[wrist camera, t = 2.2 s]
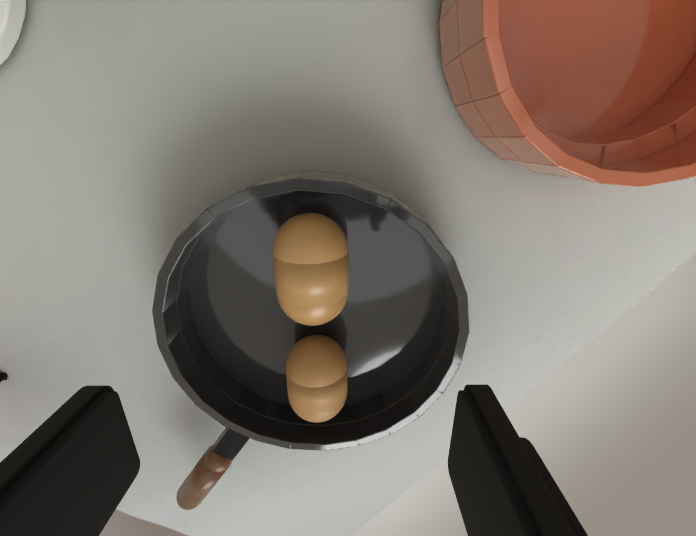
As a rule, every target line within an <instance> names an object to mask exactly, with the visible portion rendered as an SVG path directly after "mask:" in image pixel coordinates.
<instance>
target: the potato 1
mask: <svg viewBox="0 0 696 536" xmlns="http://www.w3.org/2000/svg"><path fill="white" fill-rule="evenodd" d="M273 263H274V273H275V284H276V294H277V298H278V302H279V304H280V307H281V308H282V310H283V311H284V312H285V314H286V315H287V316H288V317H290V318H291V319H292V320H294V321H296V322H298V323H300V324H304V325H310V326H314V325H321V324H324V323H327V322H329V321H330V320H332V319H334V318H335V317H336V316H337V315H338V314H339V313H340V312H341V310H342V309H343V307H344V306H345V304H346V301H347V297H348V289H349V278H348V243H347V240H346V237H345V234H344V232H343V231H342V229H341V228H340V227H339V225H338V224H337V223H336V222H334V221H333V220H332V219H330V218H329V217H326V216H324V215H322V214H317V213H303V214H299V215H296V216H294V217H292V218H290V219H288V220H287V221H286V222H285V223H284V224H283V225H282V226H281V227H280V229H279V230H278V231H277V234H276V236H275V238H274V242H273Z"/></svg>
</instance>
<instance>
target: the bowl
mask: <svg viewBox="0 0 696 536" xmlns="http://www.w3.org/2000/svg"><path fill="white" fill-rule="evenodd" d="M439 25H440V40H441V56H442V67H443V71H444V74H445V77H446V80H447V84H448V87H449V90H450V93H451V96H452V100H453V103H454V105H455V108H456V109H457V111H458V112H459V114H460V115H461V117H462V118H463V120H464V122H465V123H466V125H467V126H468V128H469V129H470V131H471V132H472V134H473V135H474V136H475V138H476V139H477V140H479V141H480V142H481V143H482V144H483V145H485V146H486V147H487V148H488V149H489V150H491V151H492V152H493V153H494V154H495V155H497V156H498V157H499V158H501V159H502V160H505V161H507V162H510V163H512V164H515V165H517V166H520V167H522V168H525V169H527V170H530V171H535V172H540V173H545V174H551V175H556V176H562V177H567V178H573V179H578V180H583V181H589V182H594V183H602V184H614V185H625V186H637V187H641V186H648V185H654V184H660V183H665V182H671V181H676V180H682V179H688V178H690V177H694V176H696V0H443V1H442V7H441V14H440V22H439Z"/></svg>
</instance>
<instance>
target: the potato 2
mask: <svg viewBox="0 0 696 536" xmlns="http://www.w3.org/2000/svg"><path fill="white" fill-rule="evenodd" d="M286 379H287V390H288V398H289V402H290V405H291V407H292V408H293V410H294V412H295V413H296V414H297V415H298V416H299V417H301V418H302V419H304V420H306V421H309V422H315V423H319V422H324V421H327V420H329V419H331V418H333V417H334V416H336V415H337V414H338V413H339V411H340V410H341V409H342V407H343V406H344V403H345V401H346V397H347V360H346V356H345V353H344V351H343V349H342V348H341V346H340V345H339V344H338V343H337V342H336V341H335V340H333V339H332V338H330V337H327V336H324V335H310V336H307V337H305V338H303V339H301V340H299V341H298V342H297V343H296V344H295V345H294V346H293V347H292V349H291V350H290V352H289V354H288V357H287V360H286Z"/></svg>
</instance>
